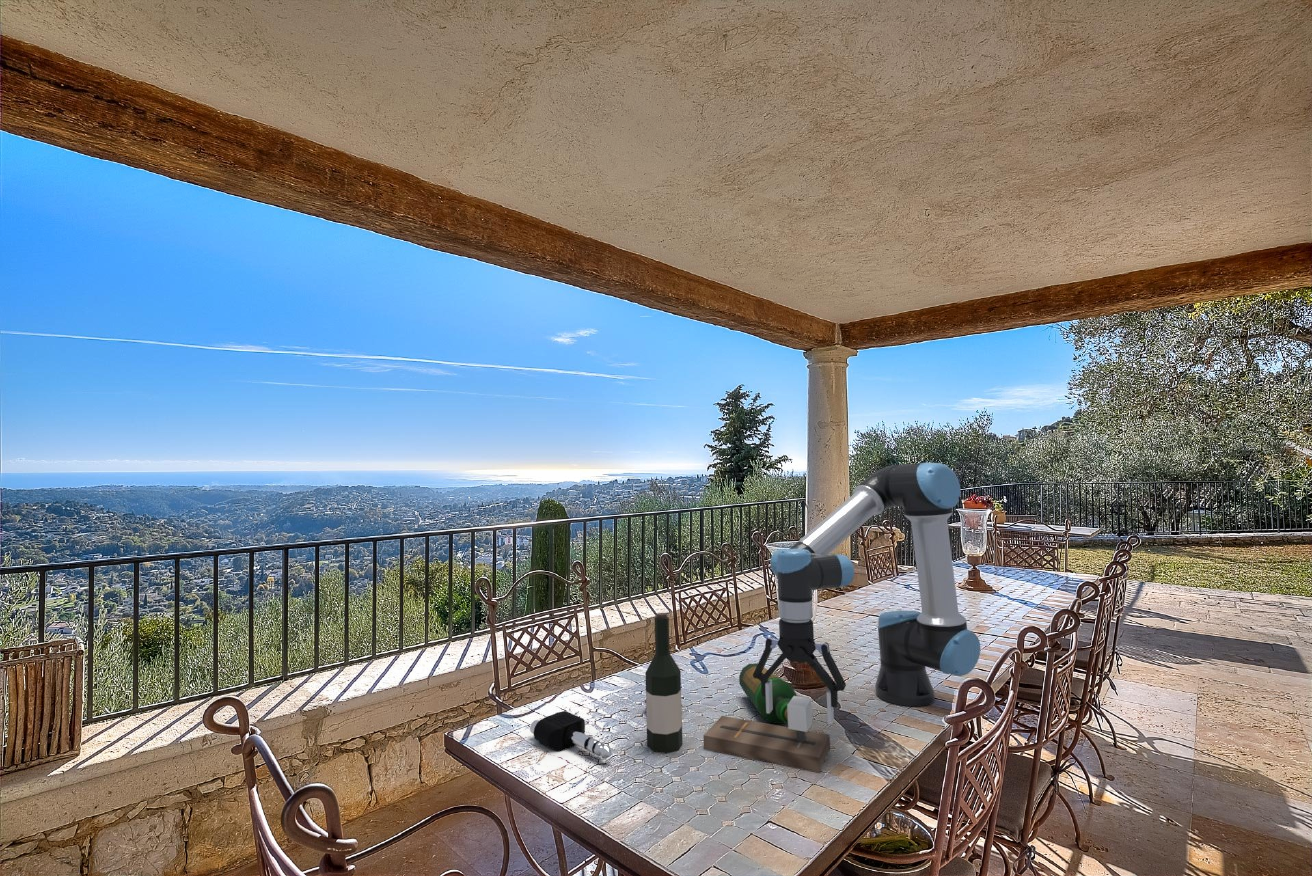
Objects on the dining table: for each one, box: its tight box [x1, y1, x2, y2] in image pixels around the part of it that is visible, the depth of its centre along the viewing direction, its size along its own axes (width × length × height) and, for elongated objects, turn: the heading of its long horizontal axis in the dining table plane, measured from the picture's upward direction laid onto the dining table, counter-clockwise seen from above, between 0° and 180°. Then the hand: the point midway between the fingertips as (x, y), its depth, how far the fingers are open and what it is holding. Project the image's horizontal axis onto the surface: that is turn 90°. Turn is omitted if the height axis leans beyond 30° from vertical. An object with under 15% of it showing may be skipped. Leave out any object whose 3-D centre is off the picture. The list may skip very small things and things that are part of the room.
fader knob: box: [787, 695, 813, 742], centre depth 126 cm, size 4×6×8 cm, turn 153°
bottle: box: [738, 662, 798, 724], centre depth 148 cm, size 11×11×28 cm
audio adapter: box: [529, 710, 613, 760], centre depth 132 cm, size 11×5×25 cm
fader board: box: [703, 715, 831, 773], centre depth 129 cm, size 26×12×3 cm, turn 63°
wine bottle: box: [645, 612, 684, 754], centre depth 133 cm, size 8×8×30 cm
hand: (799, 716), depth 126 cm, fingers open, 13 cm apart
